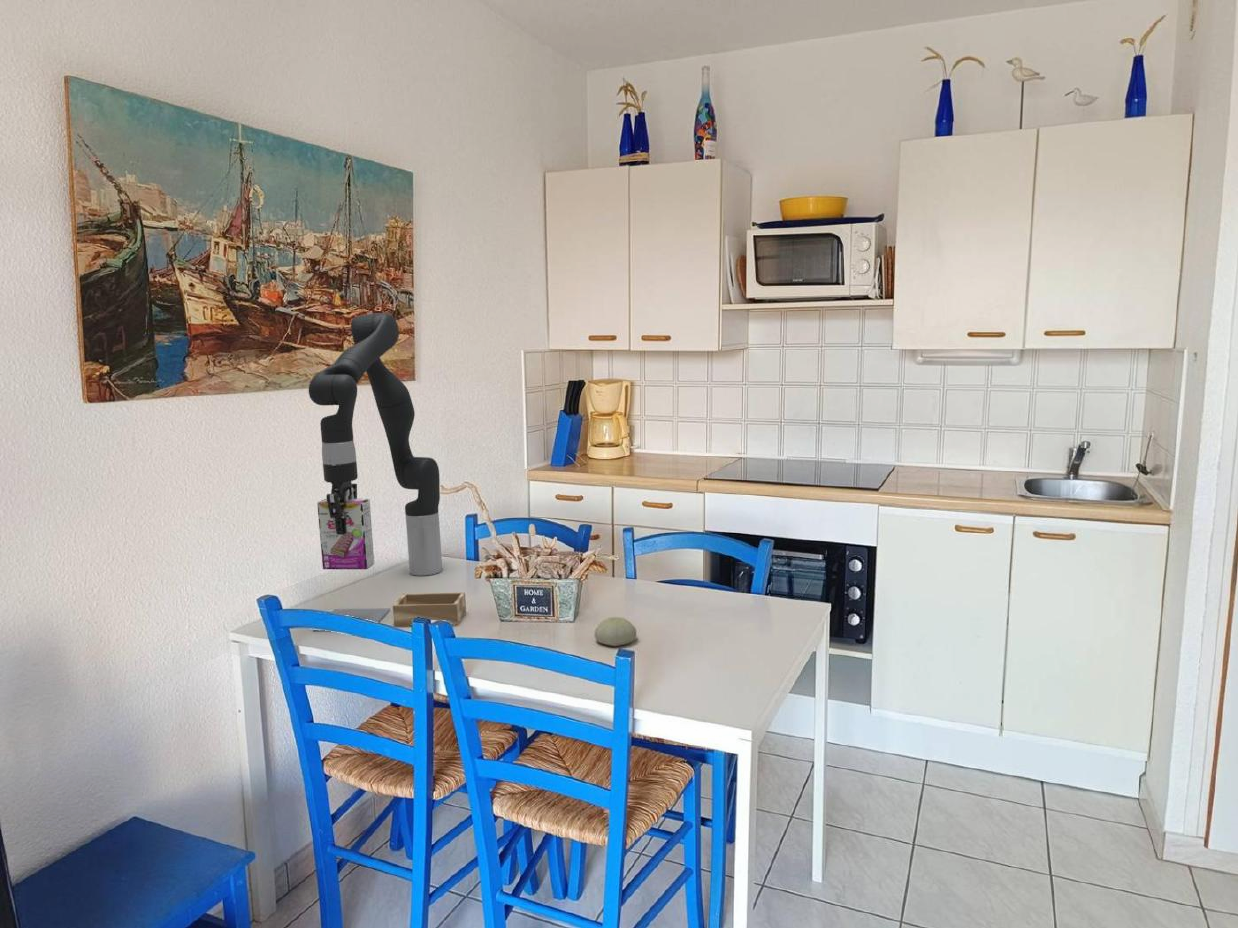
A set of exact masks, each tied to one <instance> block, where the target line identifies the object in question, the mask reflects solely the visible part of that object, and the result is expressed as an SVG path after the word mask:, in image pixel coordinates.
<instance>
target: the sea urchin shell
mask: <svg viewBox="0 0 1238 928" xmlns="http://www.w3.org/2000/svg"><path fill="white" fill-rule="evenodd" d="M594 637H595V640H596V641H597V642H598V643H600V644H602V645H603V644H604V645H606V646H611V647H618V646H624V645H628V644H630V643H632V642H634V641H635V639H636V637H637V629H636V626H634V624H633V623H632V622H631V621H629V620H628V619H626V618H623V617H619V616H611V617H607V618H606V619H604V620H603V619H602V621H600V623H599V624H597V626H596V627H595V631H594Z"/></svg>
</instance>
